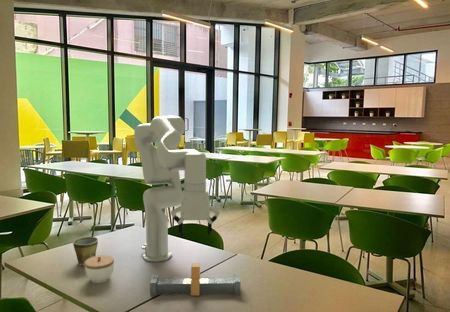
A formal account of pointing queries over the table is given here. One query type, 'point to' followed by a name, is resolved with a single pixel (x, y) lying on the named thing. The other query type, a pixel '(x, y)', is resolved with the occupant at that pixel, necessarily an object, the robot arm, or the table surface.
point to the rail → (185, 286)
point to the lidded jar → (99, 268)
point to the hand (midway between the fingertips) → (195, 233)
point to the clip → (195, 279)
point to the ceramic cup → (85, 248)
